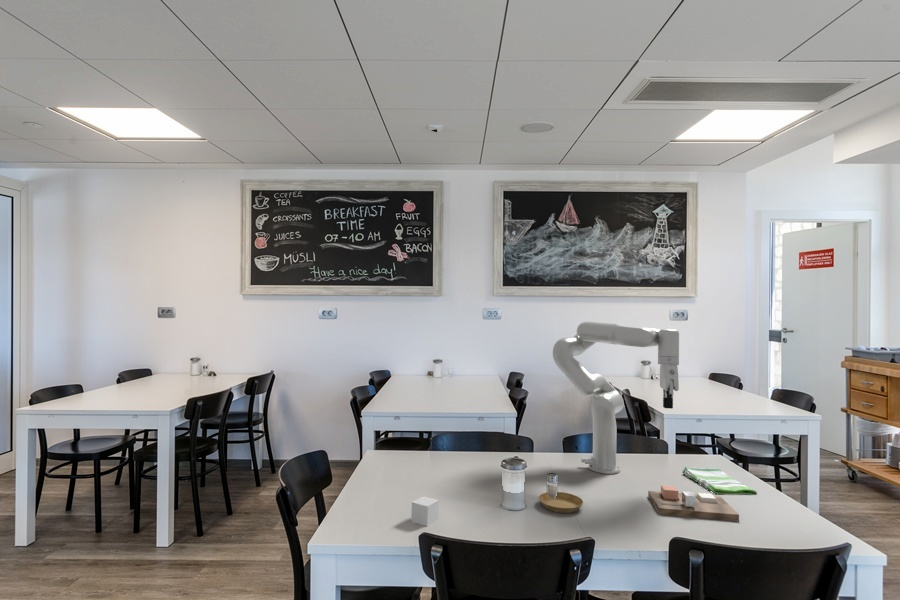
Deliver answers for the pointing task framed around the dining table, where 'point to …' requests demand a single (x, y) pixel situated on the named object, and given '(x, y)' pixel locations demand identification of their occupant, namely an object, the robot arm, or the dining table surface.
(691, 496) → the slider knob
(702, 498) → the cream button
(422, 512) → the white cube
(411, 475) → the dining table surface
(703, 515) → the switch board
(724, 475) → the dish towel
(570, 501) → the plant saucer
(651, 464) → the dining table surface
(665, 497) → the terracotta button
